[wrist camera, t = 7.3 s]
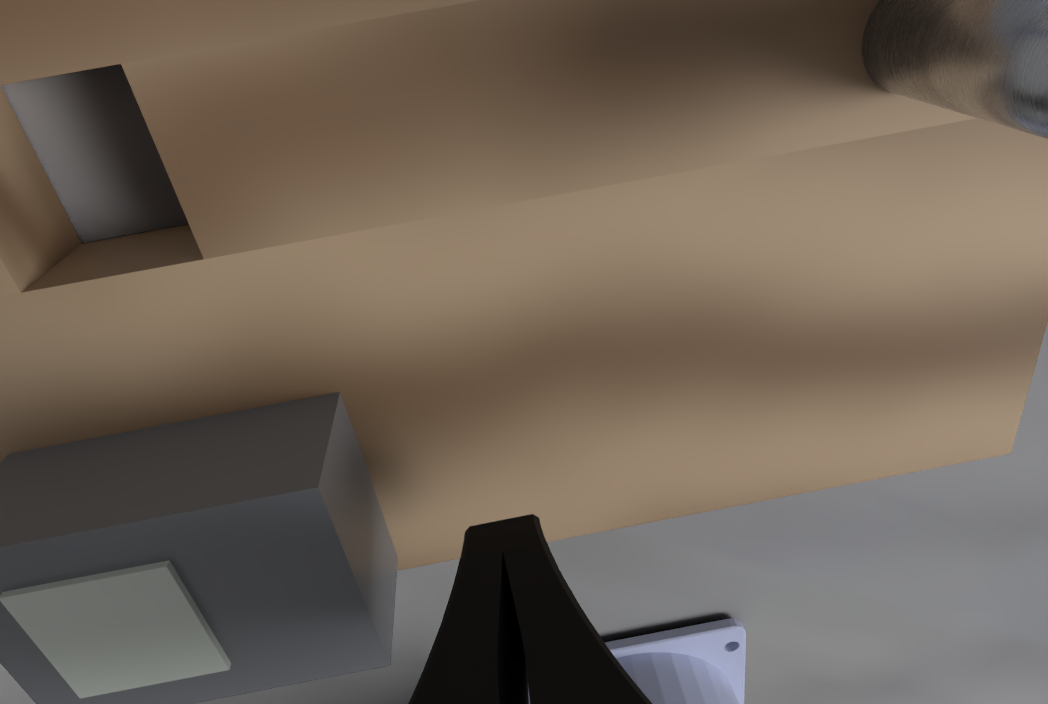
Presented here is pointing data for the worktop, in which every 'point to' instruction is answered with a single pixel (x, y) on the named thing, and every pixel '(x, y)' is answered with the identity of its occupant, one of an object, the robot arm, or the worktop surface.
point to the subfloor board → (532, 251)
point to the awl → (964, 57)
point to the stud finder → (195, 559)
